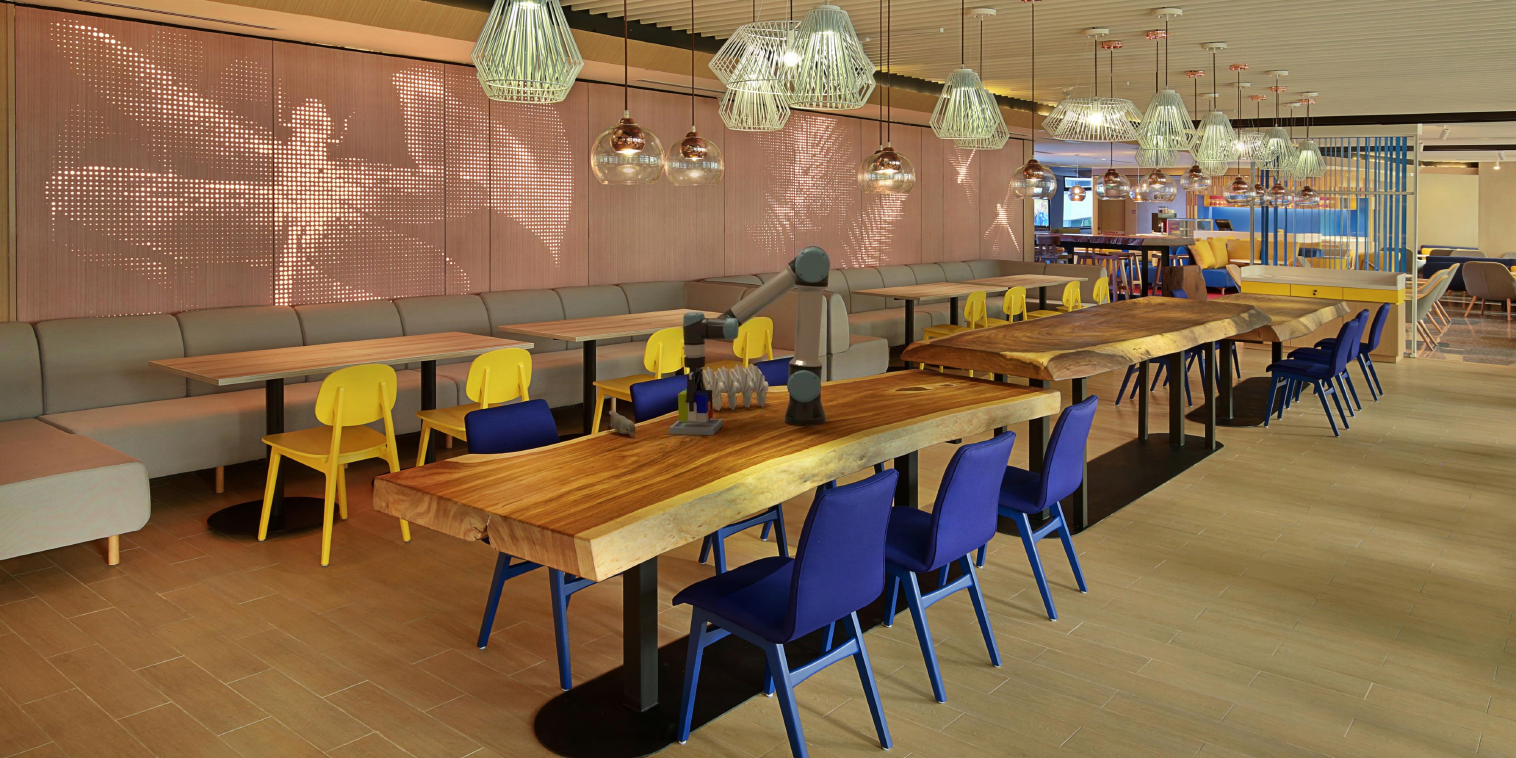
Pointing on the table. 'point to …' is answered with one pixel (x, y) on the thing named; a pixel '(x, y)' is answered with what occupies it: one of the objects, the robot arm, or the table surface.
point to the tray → (696, 427)
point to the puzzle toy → (702, 406)
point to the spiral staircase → (736, 385)
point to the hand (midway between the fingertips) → (696, 417)
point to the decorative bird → (621, 424)
